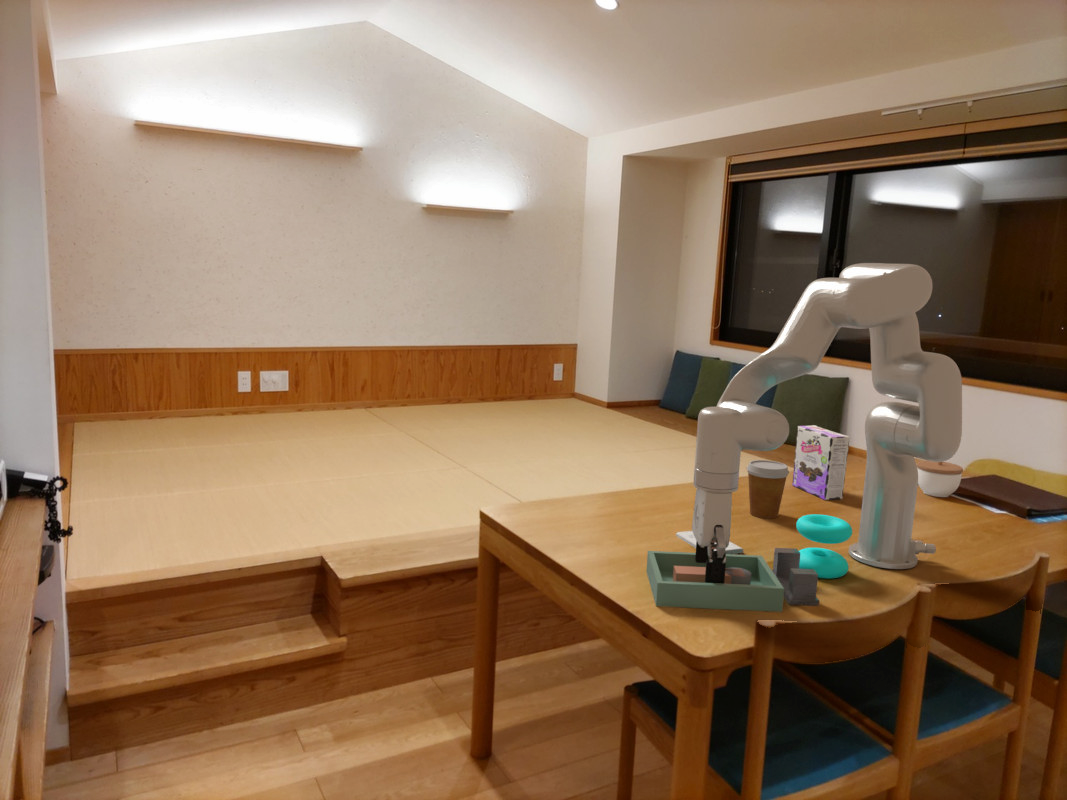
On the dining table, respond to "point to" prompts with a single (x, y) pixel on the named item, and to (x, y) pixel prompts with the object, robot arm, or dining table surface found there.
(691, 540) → the external hard drive
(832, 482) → the candy box
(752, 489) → the disposable coffee cup
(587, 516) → the dining table surface
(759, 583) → the tray
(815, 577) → the bracket
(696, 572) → the strut
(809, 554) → the donuts
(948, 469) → the lidded jar
